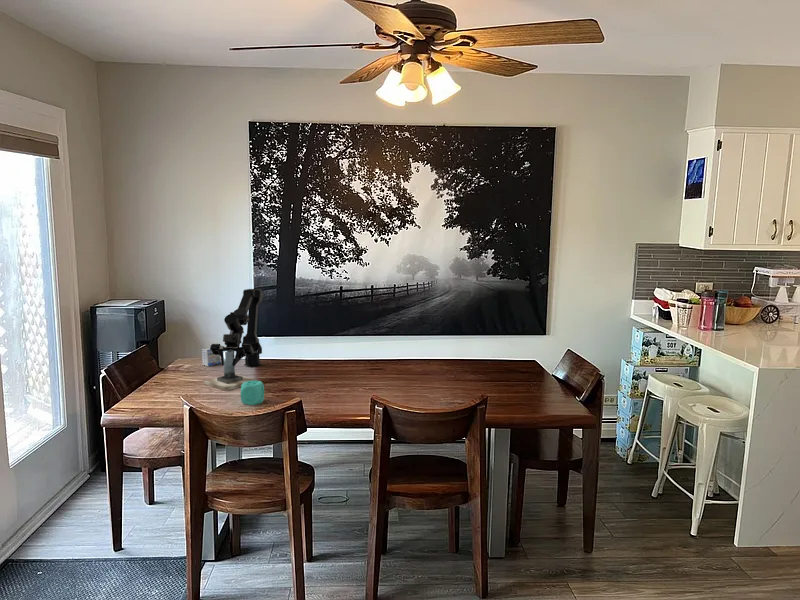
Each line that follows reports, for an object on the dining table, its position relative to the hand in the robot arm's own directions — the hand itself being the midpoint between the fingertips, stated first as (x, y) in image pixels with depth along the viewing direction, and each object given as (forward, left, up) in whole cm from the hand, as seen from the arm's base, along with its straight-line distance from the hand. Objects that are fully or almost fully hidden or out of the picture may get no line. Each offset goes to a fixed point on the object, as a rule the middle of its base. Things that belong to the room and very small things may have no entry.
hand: (228, 365), depth 268 cm
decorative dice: (+9, +29, -9) cm, 32 cm away
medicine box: (-16, -38, -9) cm, 42 cm away
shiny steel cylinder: (-1, -1, -7) cm, 7 cm away
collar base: (-1, -1, -9) cm, 9 cm away
